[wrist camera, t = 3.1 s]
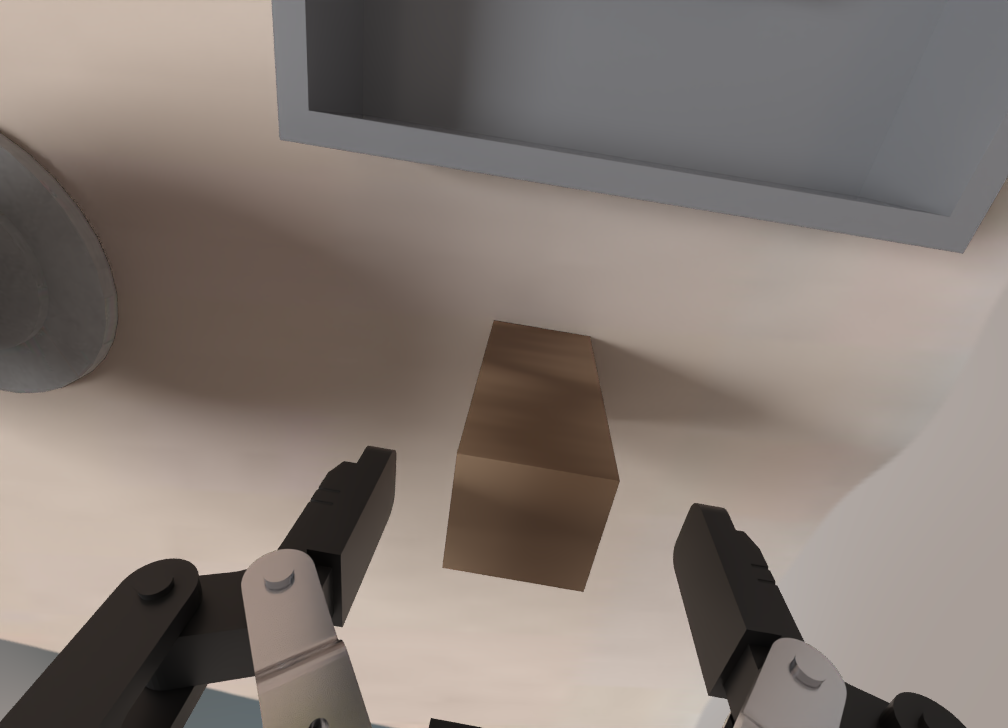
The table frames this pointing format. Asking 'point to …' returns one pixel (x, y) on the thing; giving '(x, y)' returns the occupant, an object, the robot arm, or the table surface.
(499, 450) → the brown block
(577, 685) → the table surface
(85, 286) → the mate gourd
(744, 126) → the grey square tray
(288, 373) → the table surface
